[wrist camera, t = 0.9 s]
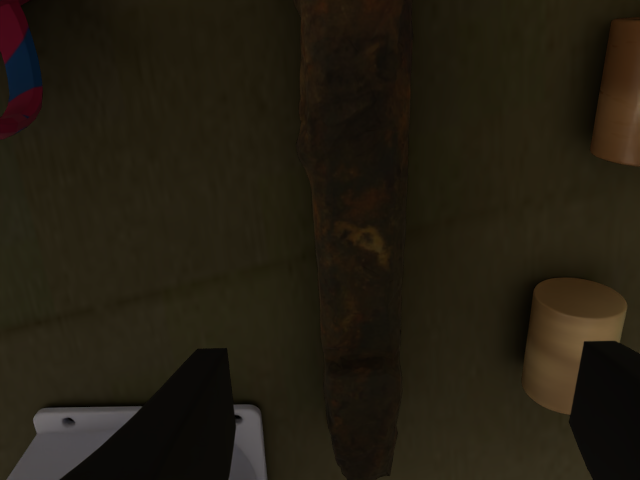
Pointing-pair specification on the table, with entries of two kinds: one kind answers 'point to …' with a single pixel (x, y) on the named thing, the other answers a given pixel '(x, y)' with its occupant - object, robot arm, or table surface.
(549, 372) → the beech dowel
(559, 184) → the table surface
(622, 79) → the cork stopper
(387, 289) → the hand tool
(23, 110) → the mug
